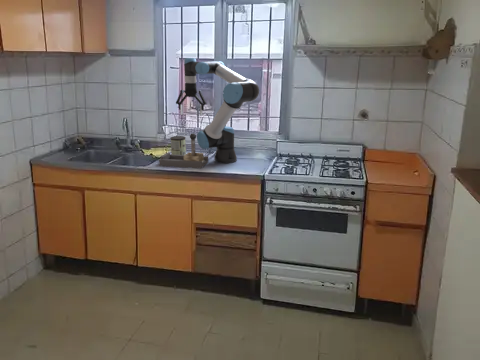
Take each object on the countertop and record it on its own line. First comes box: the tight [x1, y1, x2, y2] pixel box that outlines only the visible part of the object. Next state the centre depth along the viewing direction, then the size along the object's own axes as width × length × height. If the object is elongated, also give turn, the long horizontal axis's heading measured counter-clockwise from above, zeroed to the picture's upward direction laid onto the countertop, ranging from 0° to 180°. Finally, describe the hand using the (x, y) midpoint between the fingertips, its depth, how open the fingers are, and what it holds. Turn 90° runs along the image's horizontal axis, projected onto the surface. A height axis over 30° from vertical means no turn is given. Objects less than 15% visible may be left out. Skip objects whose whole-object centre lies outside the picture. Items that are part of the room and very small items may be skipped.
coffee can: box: [169, 135, 187, 155], centre depth 309 cm, size 10×10×14 cm
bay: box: [158, 152, 209, 169], centre depth 292 cm, size 28×16×6 cm, turn 78°
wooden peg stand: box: [184, 133, 204, 161], centre depth 289 cm, size 10×10×19 cm
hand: (191, 115), depth 299 cm, fingers open, 13 cm apart
